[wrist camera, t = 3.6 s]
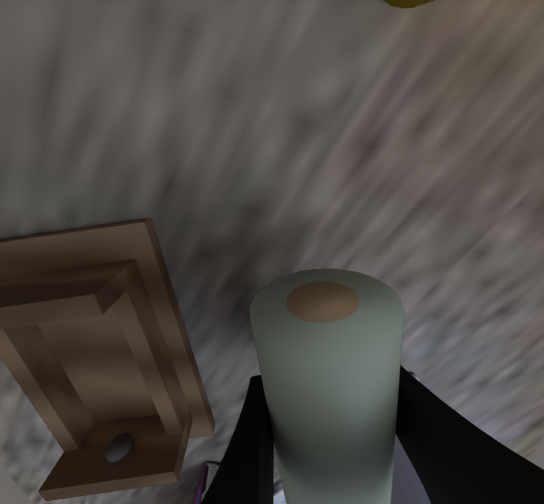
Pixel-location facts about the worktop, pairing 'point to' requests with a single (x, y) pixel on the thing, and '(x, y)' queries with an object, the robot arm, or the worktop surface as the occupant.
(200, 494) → the candy bar box
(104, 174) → the worktop surface
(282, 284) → the paper roll
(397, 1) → the element tile
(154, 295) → the roll cradle
